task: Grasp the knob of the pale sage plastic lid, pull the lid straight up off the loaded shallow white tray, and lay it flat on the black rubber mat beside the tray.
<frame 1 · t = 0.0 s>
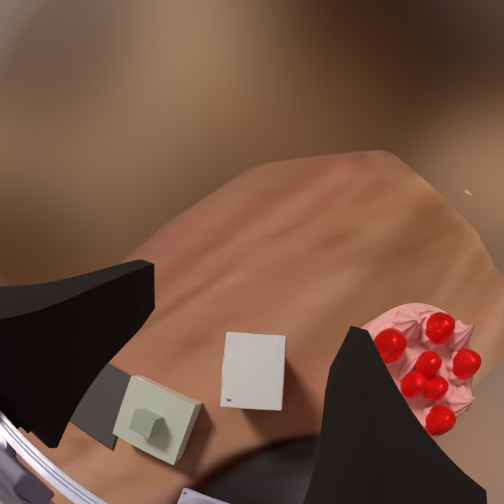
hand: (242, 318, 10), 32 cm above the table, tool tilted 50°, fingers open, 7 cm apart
cake: (389, 380, 36), on the table
lid: (153, 420, 32), point 3 cm above the table, touching shallow white tray
mat: (90, 395, 37), on the table
shallow white tray: (161, 417, 35), on the table
small box: (257, 373, 38), on the table
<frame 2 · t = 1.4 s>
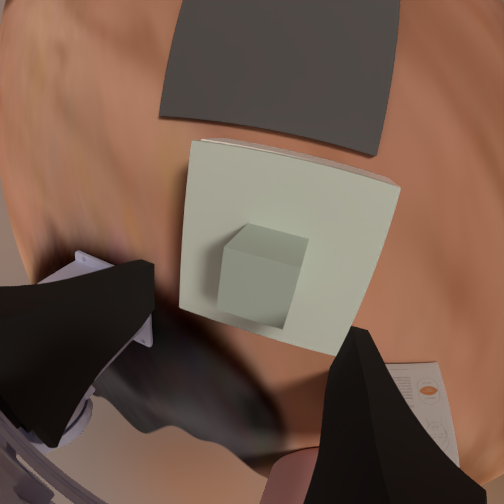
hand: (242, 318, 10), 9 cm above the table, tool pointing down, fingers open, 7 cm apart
cake: (340, 471, 29), on the table
lid: (275, 252, 15), point 3 cm above the table, touching shallow white tray
mat: (279, 25, 13), on the table
shallow white tray: (288, 231, 18), on the table
small box: (387, 385, 21), on the table
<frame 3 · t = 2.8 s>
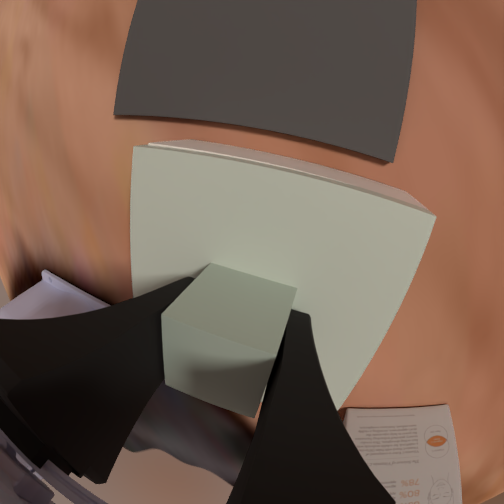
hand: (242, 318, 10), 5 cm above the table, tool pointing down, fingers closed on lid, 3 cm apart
lid: (252, 299, 11), point 4 cm above the table, touching gripper, shallow white tray
shallow white tray: (273, 261, 14), on the table
small box: (389, 427, 17), on the table
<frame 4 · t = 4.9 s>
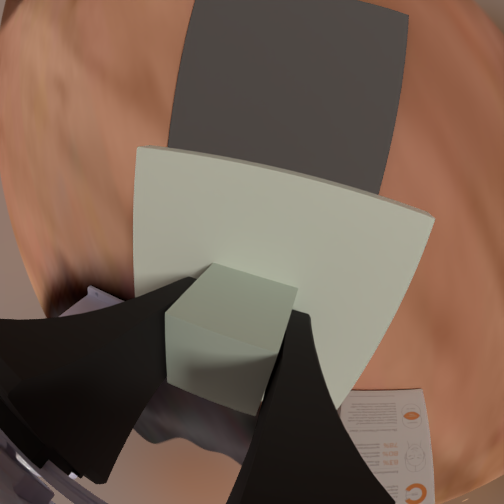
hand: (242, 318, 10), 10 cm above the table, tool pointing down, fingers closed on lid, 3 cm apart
lid: (253, 299, 11), point 8 cm above the table, touching gripper
mat: (282, 83, 15), on the table
small box: (376, 407, 22), on the table
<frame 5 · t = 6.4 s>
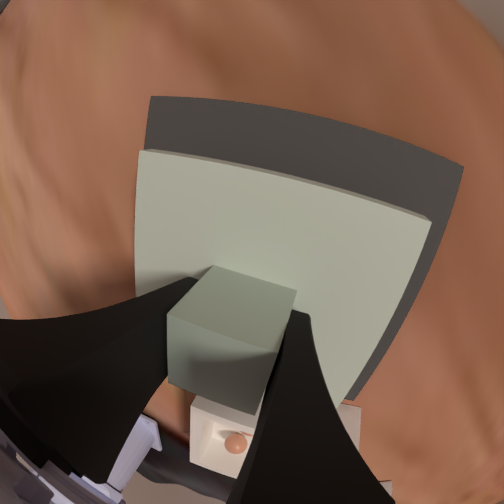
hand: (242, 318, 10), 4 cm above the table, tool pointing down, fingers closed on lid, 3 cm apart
lid: (253, 301, 11), point 3 cm above the table, touching gripper
mat: (269, 267, 13), on the table
shallow white tray: (270, 426, 18), on the table
when the fingers open (4 cm above the table, at t = 7.1 s): lid drops 1 cm, resting on mat.
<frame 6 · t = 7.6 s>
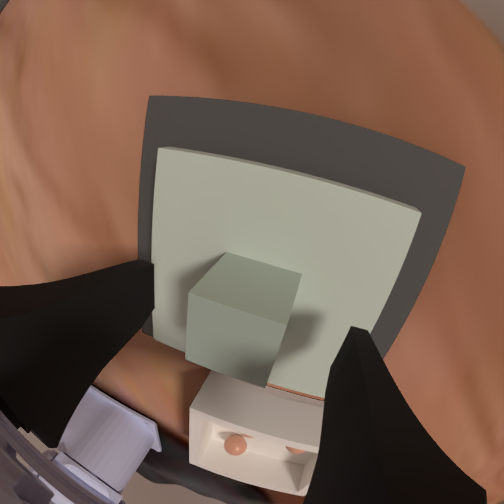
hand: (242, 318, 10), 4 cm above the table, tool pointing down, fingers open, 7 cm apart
lid: (261, 285, 12), point 1 cm above the table, touching mat
mat: (269, 268, 13), on the table
shallow white tray: (270, 427, 18), on the table
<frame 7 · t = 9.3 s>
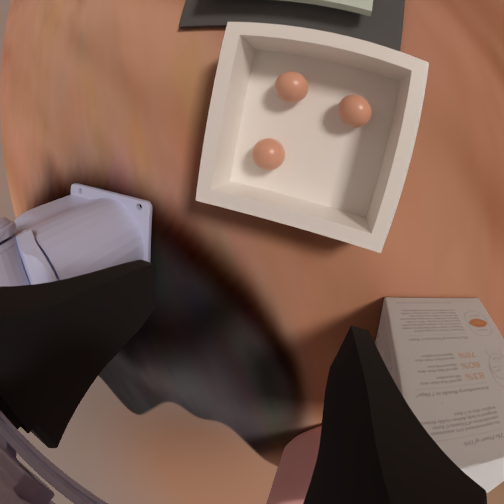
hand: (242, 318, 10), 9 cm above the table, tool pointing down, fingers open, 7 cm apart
cake: (359, 454, 26), on the table
shallow white tray: (314, 128, 15), on the table
small box: (424, 330, 18), on the table
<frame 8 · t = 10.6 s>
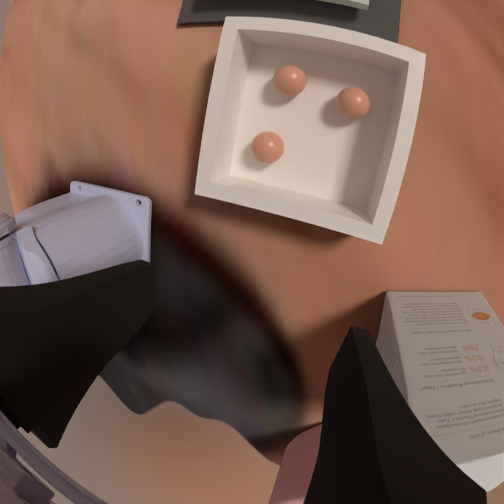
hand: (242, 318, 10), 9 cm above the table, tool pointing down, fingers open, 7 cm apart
cake: (362, 452, 26), on the table
shallow white tray: (313, 121, 15), on the table
small box: (426, 325, 18), on the table
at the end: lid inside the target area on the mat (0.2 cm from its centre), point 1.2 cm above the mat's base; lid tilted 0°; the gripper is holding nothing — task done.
